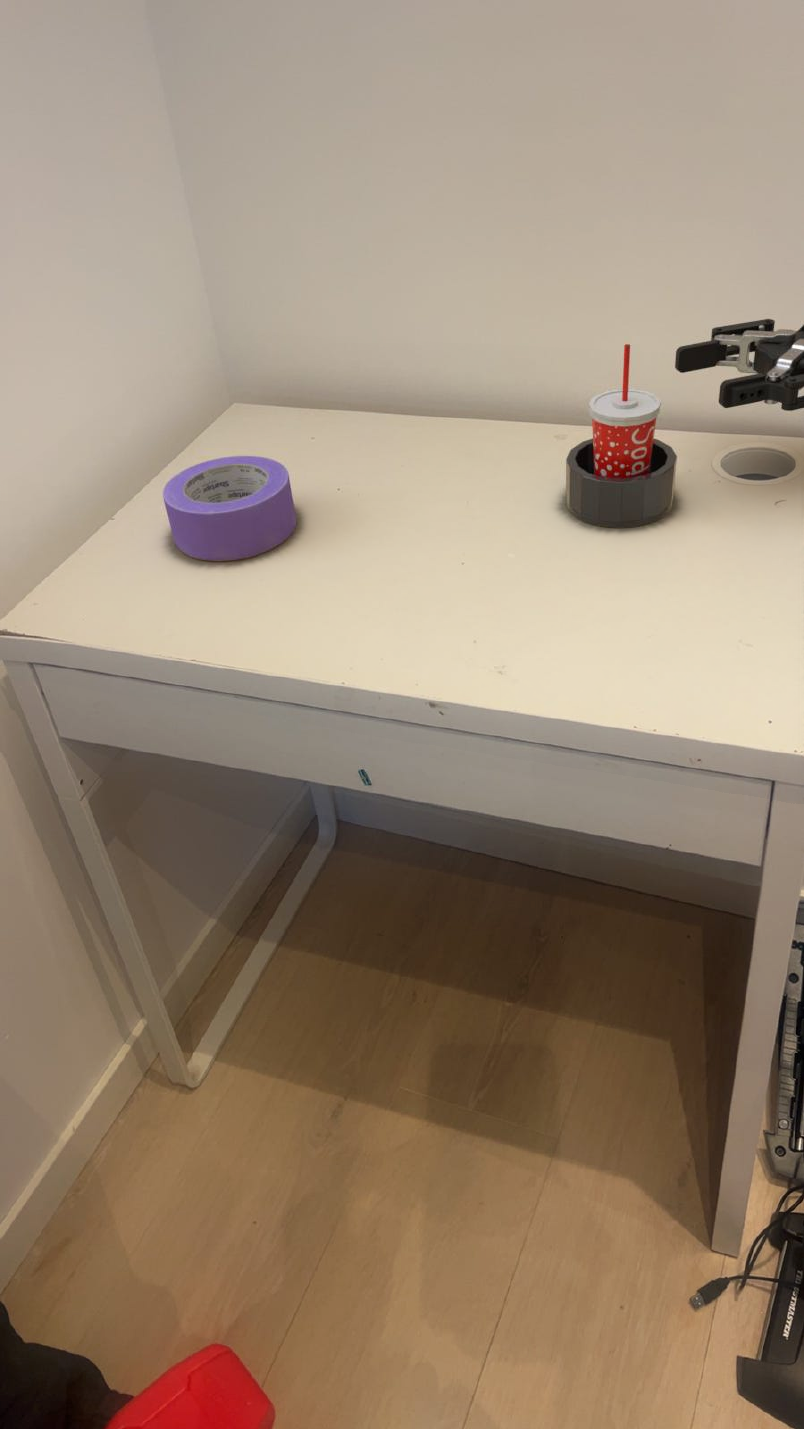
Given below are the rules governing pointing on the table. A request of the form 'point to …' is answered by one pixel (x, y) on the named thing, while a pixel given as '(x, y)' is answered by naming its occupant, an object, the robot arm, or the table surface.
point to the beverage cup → (623, 429)
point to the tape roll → (230, 507)
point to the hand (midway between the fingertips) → (698, 377)
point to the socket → (620, 489)
